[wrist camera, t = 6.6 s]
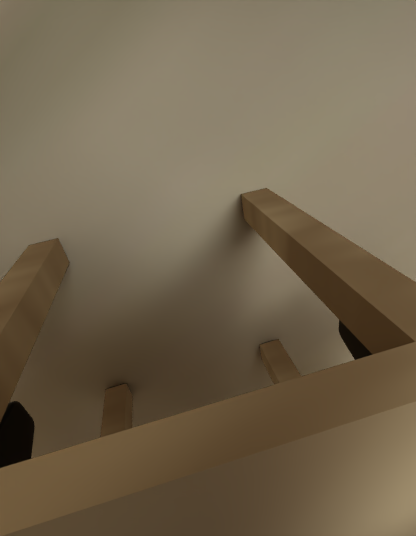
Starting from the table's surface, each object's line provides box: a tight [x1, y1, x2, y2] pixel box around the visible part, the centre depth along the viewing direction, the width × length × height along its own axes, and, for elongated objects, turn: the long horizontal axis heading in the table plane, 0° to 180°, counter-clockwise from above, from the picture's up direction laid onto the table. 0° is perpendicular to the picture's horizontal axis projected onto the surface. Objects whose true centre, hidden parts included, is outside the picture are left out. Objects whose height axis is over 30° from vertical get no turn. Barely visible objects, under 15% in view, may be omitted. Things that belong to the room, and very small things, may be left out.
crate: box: [0, 188, 416, 536], centre depth 7 cm, size 7×7×7 cm
